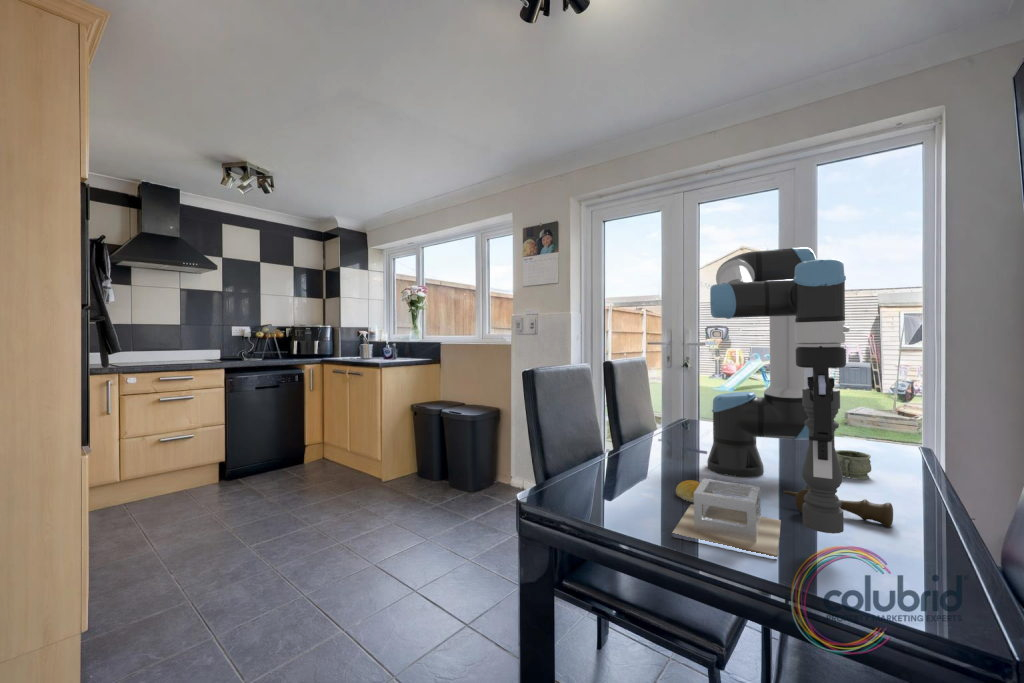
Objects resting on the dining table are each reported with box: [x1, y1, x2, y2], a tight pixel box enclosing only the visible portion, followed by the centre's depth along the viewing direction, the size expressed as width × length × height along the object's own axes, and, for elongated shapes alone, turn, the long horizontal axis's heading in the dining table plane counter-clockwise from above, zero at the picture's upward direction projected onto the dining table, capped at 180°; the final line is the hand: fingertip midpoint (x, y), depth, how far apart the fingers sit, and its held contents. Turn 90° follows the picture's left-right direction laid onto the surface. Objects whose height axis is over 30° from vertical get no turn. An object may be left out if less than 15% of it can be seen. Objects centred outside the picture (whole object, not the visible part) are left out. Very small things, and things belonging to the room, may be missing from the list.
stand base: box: [671, 504, 782, 557], centre depth 91 cm, size 18×18×1 cm
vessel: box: [835, 449, 872, 480], centre depth 127 cm, size 12×9×6 cm
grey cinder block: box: [693, 478, 762, 543], centre depth 91 cm, size 11×11×8 cm
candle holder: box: [801, 387, 845, 535], centre depth 81 cm, size 6×6×25 cm
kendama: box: [782, 484, 894, 529], centre depth 99 cm, size 6×10×20 cm
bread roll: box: [675, 479, 715, 503], centre depth 111 cm, size 8×9×4 cm
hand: (821, 472), depth 81 cm, fingers closed on candle holder, 6 cm apart
